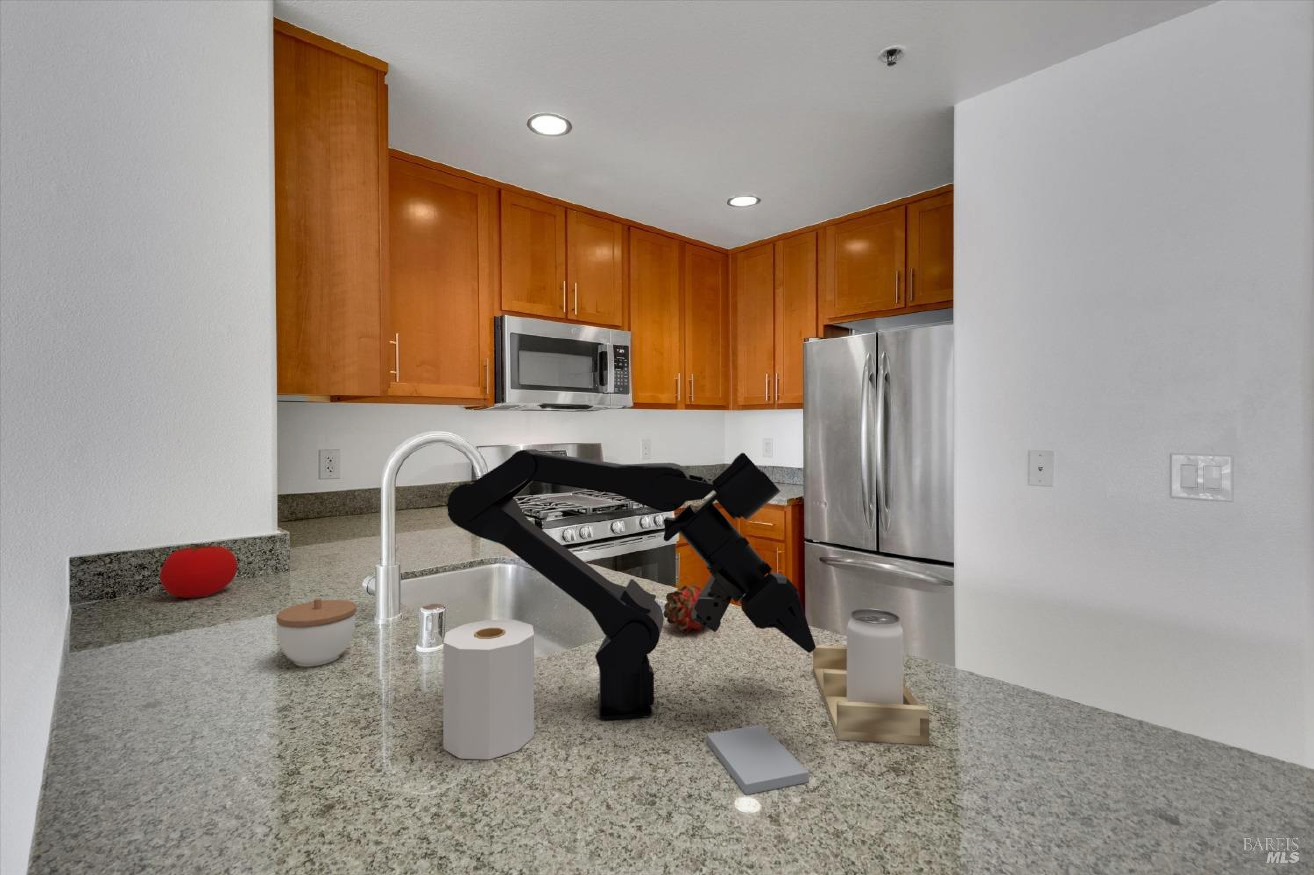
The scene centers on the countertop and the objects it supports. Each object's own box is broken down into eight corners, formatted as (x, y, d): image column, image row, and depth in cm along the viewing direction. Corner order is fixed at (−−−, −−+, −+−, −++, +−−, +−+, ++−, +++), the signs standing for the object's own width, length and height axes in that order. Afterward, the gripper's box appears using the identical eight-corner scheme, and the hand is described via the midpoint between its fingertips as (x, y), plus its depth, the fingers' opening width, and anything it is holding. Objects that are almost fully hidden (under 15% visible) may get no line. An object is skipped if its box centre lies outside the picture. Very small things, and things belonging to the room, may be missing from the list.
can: (914, 724, 69) (914, 622, 68) (863, 728, 67) (863, 625, 67) (884, 699, 75) (884, 606, 75) (837, 703, 74) (837, 608, 74)
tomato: (145, 602, 120) (145, 549, 120) (204, 585, 133) (204, 537, 133) (194, 605, 118) (194, 551, 118) (249, 588, 131) (249, 539, 131)
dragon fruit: (670, 648, 99) (695, 636, 110) (710, 624, 97) (731, 614, 108) (646, 603, 102) (673, 596, 113) (684, 578, 100) (708, 573, 111)
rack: (838, 739, 67) (838, 705, 67) (812, 672, 86) (812, 645, 86) (929, 745, 66) (929, 709, 66) (883, 675, 85) (883, 648, 85)
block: (745, 794, 57) (745, 784, 57) (706, 742, 66) (706, 733, 66) (808, 781, 59) (808, 772, 59) (761, 733, 68) (761, 724, 68)
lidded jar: (259, 666, 88) (259, 604, 87) (324, 642, 97) (324, 586, 97) (310, 678, 84) (309, 612, 83) (372, 652, 93) (371, 593, 93)
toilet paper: (535, 711, 74) (535, 616, 74) (532, 756, 63) (532, 646, 63) (451, 718, 72) (451, 620, 72) (434, 765, 62) (434, 651, 62)
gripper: (669, 575, 82) (743, 661, 81) (673, 601, 64) (769, 713, 63) (728, 523, 83) (802, 607, 82) (749, 533, 64) (845, 643, 63)
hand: (802, 639), depth 72 cm, fingers open, 9 cm apart
